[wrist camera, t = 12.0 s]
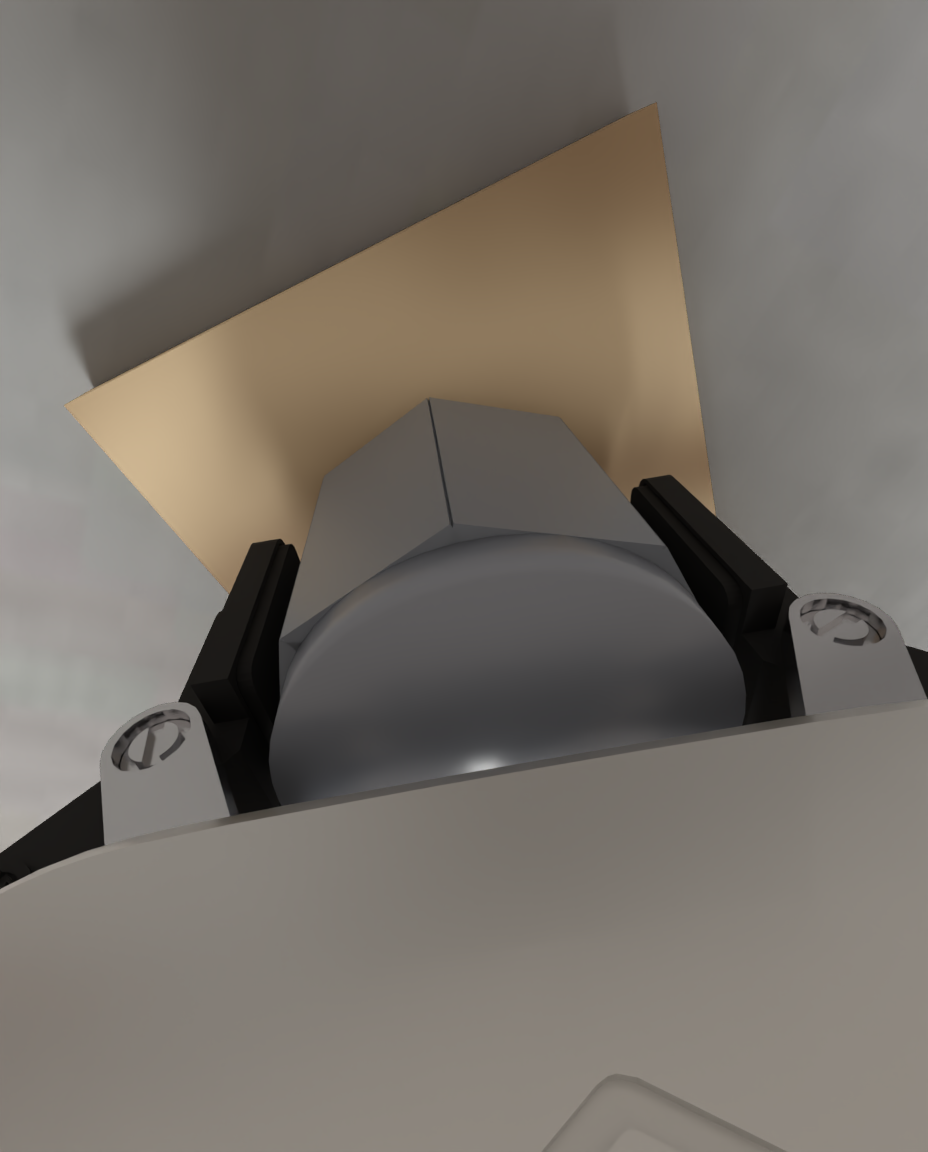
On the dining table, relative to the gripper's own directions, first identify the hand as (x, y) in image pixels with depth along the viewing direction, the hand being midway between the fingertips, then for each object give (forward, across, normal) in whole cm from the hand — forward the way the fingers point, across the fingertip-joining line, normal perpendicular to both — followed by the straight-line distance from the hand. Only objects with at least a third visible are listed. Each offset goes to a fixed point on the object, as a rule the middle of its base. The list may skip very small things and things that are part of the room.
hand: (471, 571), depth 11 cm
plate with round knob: (+3, 0, 0) cm, 3 cm away
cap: (+1, 0, 0) cm, 1 cm away
